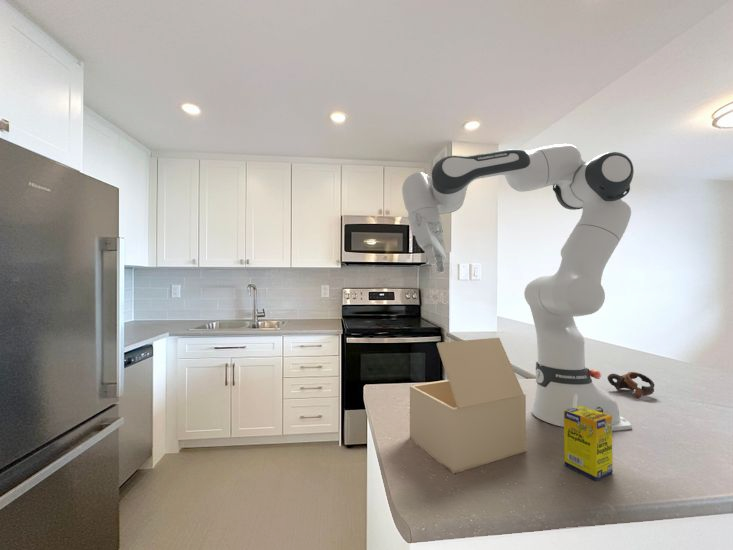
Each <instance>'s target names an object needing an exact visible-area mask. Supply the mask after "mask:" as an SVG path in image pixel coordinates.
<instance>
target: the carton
mask: <svg viewBox="0 0 733 550" xmlns="http://www.w3.org/2000/svg"><path fill="white" fill-rule="evenodd" d="M526 395H527V394H525V393H524V395H522V396H517V397H512V398H508V399H503V400H498V401H493V402H488V403H483V404H478V405H473V406H468V407H463V408H457V405H456V402H455V399H454V396H453V393H452V390H451V387H450V384H449V381H448V379H444V380H438V381H430V382H423V383H416V384H412V385H410V386H409V440H411V441H412V442H413V443H415V444H416V445H417V446H419V447H420V448H421V449H422V450H423V451H425V452H426V453H427V454H428V455H430V456H431V457H432V458H434V460H436V461H437V462H438V463H439V464H441V465H442V466H443V467H444V468H445V467H446V468H445V469H447V470H448V471H449V472H450V471H451V472H450V473H452V475H456V474H459V473H461V472H464V471H469V470H472V469H474V468H477V467H481V466H483V465H487V464H490V463H493V462H496V461H500V460H503V459H506V458H509V457H512V456H516V455H518V454H522V453H524V452H527V416H526V415H527V413H526V412H527V409H526V407H527V405H526V404H527V403H526V402H527V401H526V399H527V398H526ZM455 473H456V474H455Z"/></svg>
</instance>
